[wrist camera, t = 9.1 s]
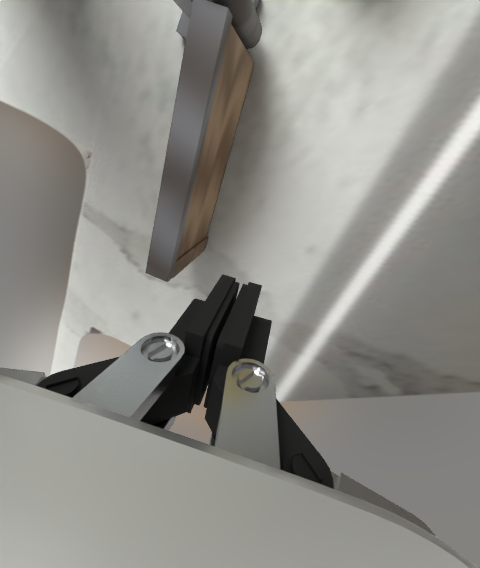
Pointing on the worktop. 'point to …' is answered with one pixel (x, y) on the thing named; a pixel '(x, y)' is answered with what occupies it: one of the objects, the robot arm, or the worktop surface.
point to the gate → (202, 129)
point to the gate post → (185, 4)
